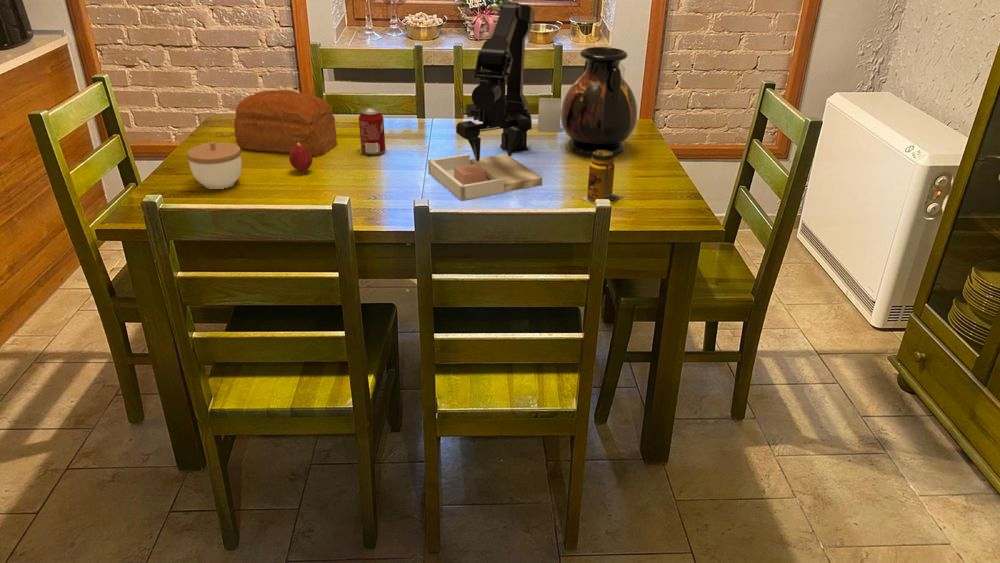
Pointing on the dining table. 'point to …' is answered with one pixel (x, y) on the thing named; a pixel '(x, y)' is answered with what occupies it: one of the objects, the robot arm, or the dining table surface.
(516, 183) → the wooden board
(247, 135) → the bread
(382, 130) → the soda can
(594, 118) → the amphora vase
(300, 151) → the onion
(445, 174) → the box
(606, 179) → the condiment
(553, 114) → the grey rectangular box
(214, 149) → the lidded bowl
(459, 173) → the block
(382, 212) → the dining table surface
